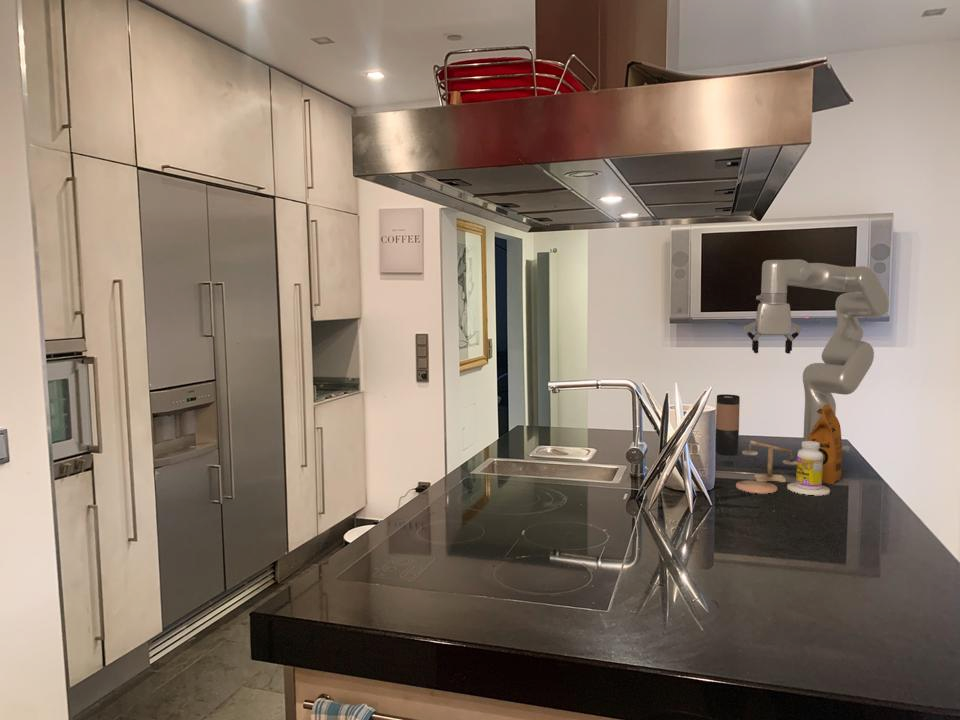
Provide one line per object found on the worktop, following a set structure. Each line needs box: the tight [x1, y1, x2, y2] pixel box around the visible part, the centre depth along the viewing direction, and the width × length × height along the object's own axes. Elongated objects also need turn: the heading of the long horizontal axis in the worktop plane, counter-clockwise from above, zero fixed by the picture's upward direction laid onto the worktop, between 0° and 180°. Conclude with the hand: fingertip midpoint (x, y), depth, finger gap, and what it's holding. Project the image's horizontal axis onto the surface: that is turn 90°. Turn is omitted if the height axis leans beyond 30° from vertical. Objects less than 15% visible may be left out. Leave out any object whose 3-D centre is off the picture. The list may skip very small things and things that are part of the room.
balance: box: [741, 440, 797, 483], centre depth 211 cm, size 16×4×12 cm, turn 82°
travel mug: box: [715, 394, 741, 456], centre depth 245 cm, size 8×8×20 cm
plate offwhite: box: [786, 481, 831, 497], centre depth 201 cm, size 11×11×1 cm
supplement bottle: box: [795, 441, 823, 490], centre depth 200 cm, size 7×7×13 cm
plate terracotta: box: [735, 480, 778, 495], centre depth 203 cm, size 11×11×1 cm
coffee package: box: [807, 404, 843, 485], centre depth 212 cm, size 10×12×22 cm
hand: (771, 353), depth 226 cm, fingers open, 9 cm apart
